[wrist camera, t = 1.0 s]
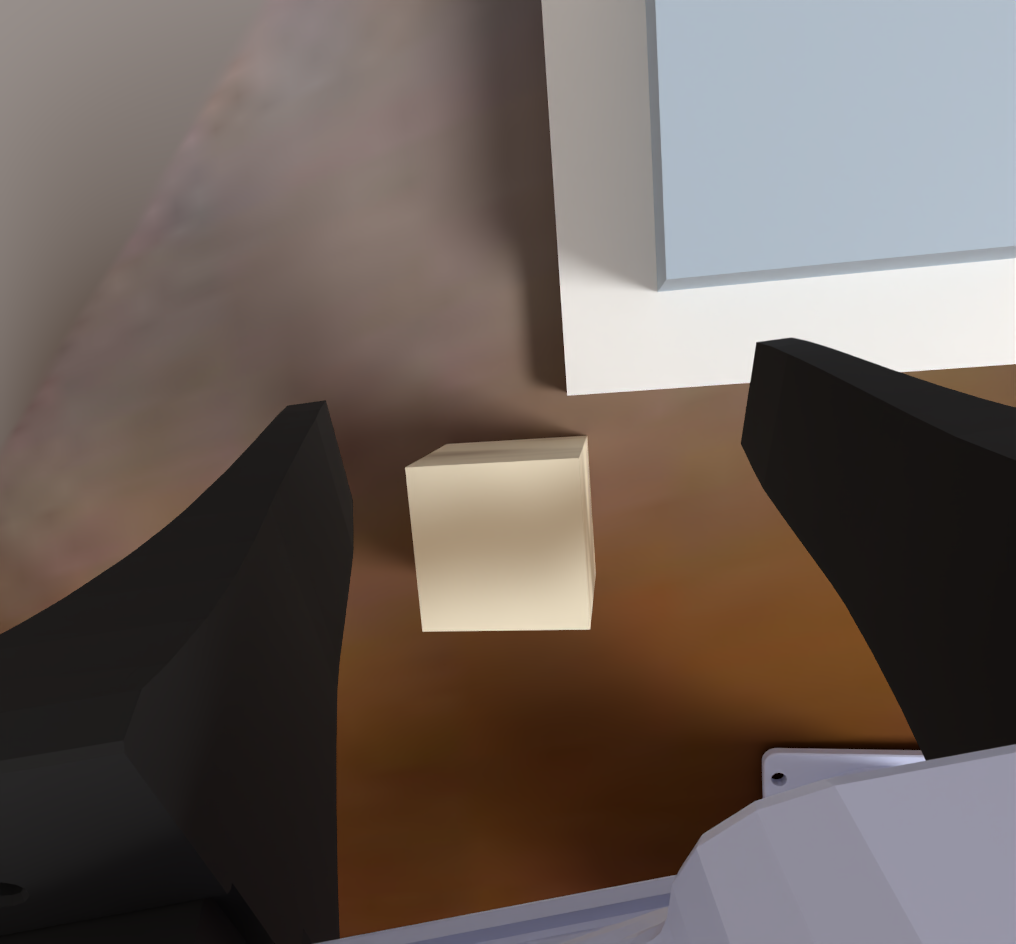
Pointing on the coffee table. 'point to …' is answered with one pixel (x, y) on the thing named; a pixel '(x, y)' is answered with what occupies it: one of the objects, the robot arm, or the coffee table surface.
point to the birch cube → (504, 535)
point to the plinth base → (723, 318)
